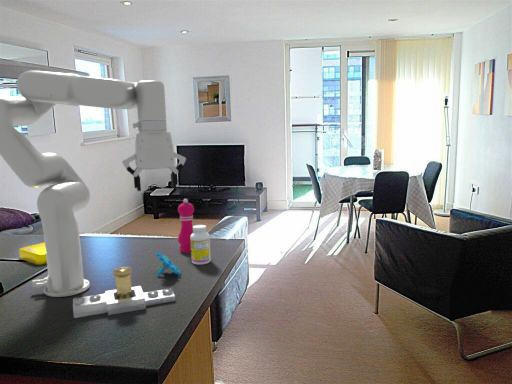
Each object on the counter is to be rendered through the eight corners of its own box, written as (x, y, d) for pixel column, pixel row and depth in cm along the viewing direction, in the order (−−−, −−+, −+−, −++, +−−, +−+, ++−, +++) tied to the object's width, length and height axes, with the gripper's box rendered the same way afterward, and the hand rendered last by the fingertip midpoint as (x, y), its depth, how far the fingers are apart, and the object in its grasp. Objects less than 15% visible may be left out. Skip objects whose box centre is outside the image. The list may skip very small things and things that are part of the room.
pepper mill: (199, 251, 170) (197, 199, 167) (180, 254, 167) (177, 201, 164) (195, 246, 177) (192, 196, 173) (176, 249, 174) (173, 197, 171)
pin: (116, 310, 120) (113, 273, 118) (115, 303, 124) (112, 268, 123) (135, 306, 122) (132, 271, 120) (133, 300, 126) (130, 265, 124)
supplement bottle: (194, 258, 161) (193, 223, 159) (212, 259, 160) (211, 224, 158) (189, 265, 155) (187, 228, 153) (208, 265, 154) (206, 228, 152)
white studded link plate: (73, 321, 114) (72, 307, 113) (74, 306, 123) (73, 293, 122) (176, 303, 123) (175, 290, 122) (170, 291, 132) (169, 279, 131)
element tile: (18, 260, 167) (16, 247, 166) (56, 249, 179) (55, 238, 178) (39, 267, 158) (38, 254, 157) (78, 256, 170) (77, 243, 169)
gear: (184, 275, 142) (160, 255, 139) (171, 289, 141) (147, 270, 138) (179, 264, 152) (157, 246, 149) (167, 278, 152) (144, 259, 148)
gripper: (120, 128, 117) (125, 193, 120) (186, 126, 123) (190, 188, 126) (118, 128, 124) (123, 189, 127) (181, 126, 130) (184, 184, 133)
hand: (156, 189), depth 126 cm, fingers open, 9 cm apart
